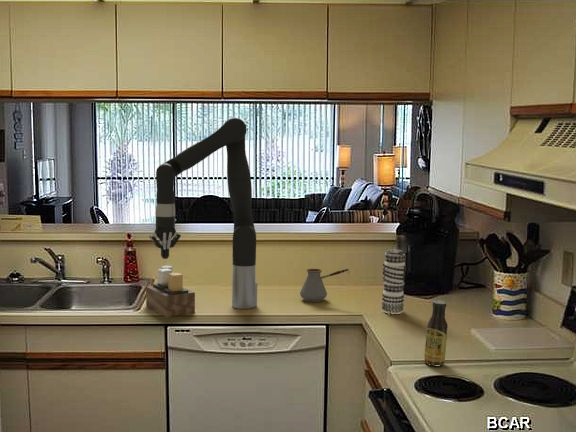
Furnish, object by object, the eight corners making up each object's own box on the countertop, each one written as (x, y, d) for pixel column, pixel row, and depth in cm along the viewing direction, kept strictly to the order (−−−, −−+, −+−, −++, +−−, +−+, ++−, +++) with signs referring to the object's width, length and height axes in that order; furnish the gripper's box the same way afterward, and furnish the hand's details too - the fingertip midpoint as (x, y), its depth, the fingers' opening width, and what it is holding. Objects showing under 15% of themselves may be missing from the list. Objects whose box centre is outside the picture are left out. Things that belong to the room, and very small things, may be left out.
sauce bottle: (420, 364, 207) (423, 301, 204) (429, 359, 212) (432, 298, 209) (440, 369, 203) (443, 305, 200) (448, 363, 208) (452, 301, 205)
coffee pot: (295, 301, 279) (296, 266, 277) (306, 295, 289) (307, 261, 287) (343, 308, 270) (344, 271, 268) (352, 301, 280) (354, 266, 278)
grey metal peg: (167, 288, 267) (167, 268, 266) (171, 290, 264) (171, 270, 263) (158, 289, 265) (158, 269, 264) (162, 291, 262) (162, 271, 261)
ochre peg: (177, 292, 260) (177, 272, 259) (182, 294, 257) (182, 274, 256) (168, 294, 258) (168, 273, 257) (173, 296, 254) (173, 275, 253)
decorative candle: (403, 316, 260) (406, 252, 257) (379, 314, 262) (382, 251, 259) (405, 310, 269) (407, 248, 266) (381, 308, 271) (384, 247, 268)
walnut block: (173, 302, 272) (173, 280, 271) (194, 312, 258) (194, 289, 257) (146, 306, 265) (146, 284, 264) (166, 317, 251) (166, 293, 250)
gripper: (153, 216, 254) (153, 261, 256) (185, 215, 262) (184, 258, 264) (145, 214, 260) (145, 258, 262) (176, 212, 267) (175, 255, 270)
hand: (165, 258), depth 263 cm, fingers closed
